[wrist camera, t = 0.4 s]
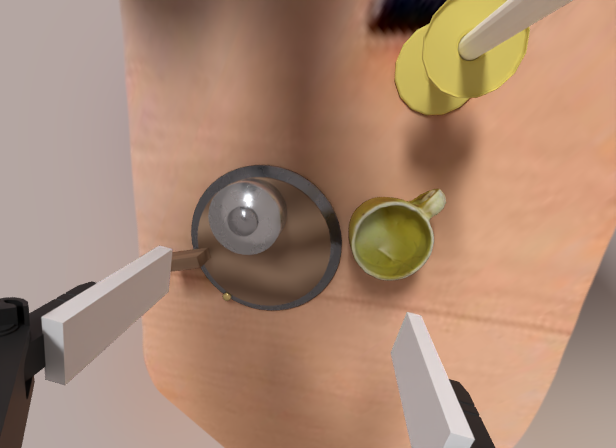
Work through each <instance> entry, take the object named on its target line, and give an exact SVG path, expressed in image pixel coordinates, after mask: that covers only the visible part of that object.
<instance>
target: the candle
mask: <svg viewBox="0 0 616 448" xmlns="http://www.w3.org/2000/svg"><path fill="white" fill-rule="evenodd" d="M571 1H573V0H447V1H446V2H445V3H444V4H443V5H442V6H441V8H440V9H439V10H438V11H437V12H436V13H435V14H434V15H433V17H432V19H431V22H430V24H428V25H426V26H424V27H422V28H420V29H418V30H417V31H416V32H415V33H414V34H413V35H412V36H411V37H410V38H409V39H408V40H407V42H406V43H405V44H404V45H403V47H402V49H401V52H400V54H399V56H398V59H397V61H396V65H395V84H396V87H397V90H398V93H399V96H400V98H401V99H402V100H403V101H404V102H405V103H406V104H407V105H408V106H409V108H410V109H412V110H414V111H417V112H419V113H422V114H424V115H443V114H446V113H448V112H450V111H453V110H455V109H457V108H459V107H461V106H462V105H463V104H464V103H465V102H466V101H467V100H468V99H469V98H477V97H480V96H482V95H485V94H487V93H489V92H492V91H494V90H496V89H498V88H499V87H500V86H501V85H502V84H504V83H505V82H506V81H507V80H508V79H509V78H510V77H511V76H512V75H513V74H514V73H515V72H516V70H517V68H518V66H519V65H520V63H521V61H522V59H523V57H524V56H525V54H526V50H527V44H528V38H529V32H530V28H529V26H531V25H533V24H534V23H536V22H538V21H539V20H541V19H543V18H544V17H546V16H548V15H549V14H551V13H553V12H554V11H556V10H558V9H559V8H561V7H563V6H564V5H566V4H568V3H569V2H571Z"/></svg>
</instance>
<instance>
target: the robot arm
mask: <svg viewBox="0 0 616 448" xmlns="http://www.w3.org/2000/svg"><path fill="white" fill-rule="evenodd" d="M172 251H173V249H171V248H167V247H163V246H160V245H159V246H158V247H156V248H154V249H153V250H151V251H149V252H148V253H146V254H144V255H143V256H141V257H140V258H138V259H136V260H135V261H133V262H131V263H130V264H128V265H126V266H125V267H123V268H121V269H120V270H118V271H117V272H115V273H113V274H112V275H110V276H108V277H107V278H105V279H103V280H102V281H100V282H98V283H95V282H88V283H85V284H82V285H79V286H77V287H75V288H73V289H71V290H70V291H68V292H66V294H63V295H61V296H59V297H57V299H54V300H52V301H50V302H49V303H47V304H45V305H43V306H42V307H40V308H38V309H37V310H35V311H33V312H31V313H29V307H28V302H27V301H26V300H24V299H21V298H15V297H14V298H13V297H12V298H1V299H0V448H21V447H22V442H23V436H24V431H25V426H26V422H27V417H28V412H29V407H30V402H31V397H32V392H33V387H34V375H35V374H36V373H38V372H39V371H40V370H41V369H43V368H44V367H45V380H49V381H52V382H55V383H59V384H62V385H66V384H67V383H68V382H69V381H70V380H72V379H73V378H74V377H75V376H76V375H77V374H78V373H79V372H80V371H82V370H83V369H84V368H85V367H86V366H87V365H88V364H89V363H90V362H92V361H93V360H94V359H95V358H96V357H97V356H98V355H99V354H100V353H101V352H102V351H104V350H105V349H106V348H107V347H108V346H109V345H110V344H111V343H113V342H114V341H115V340H116V339H117V338H118V337H119V336H120V335H121V334H122V333H123V332H125V331H126V330H127V329H128V328H129V327H130V326H131V325H132V324H133V323H135V322H136V321H137V320H138V319H139V318H140V317H141V316H142V315H143V314H145V313H146V312H147V311H148V310H149V309H150V308H151V307H152V306H153V305H155V304H156V303H157V302H158V301H159V300H160V299H161V298H162V297H163V296H164V295H166V294H167V293H168V292H169V282H170V272H171V261H172ZM391 357H392V361H393V366H394V370H395V375H396V379H397V384H398V388H399V393H400V397H401V402H402V406H403V411H404V416H405V420H406V425H407V429H408V434H409V438H410V443H411V447H412V448H495V446H494V444H493V442H492V440H491V438H490V436H489V434H488V432H487V430H486V428H485V426H484V424H483V421H482V419H481V417H479V413H478V411H477V409H476V407H474V403H473V401H472V399H471V397H470V395H469V393H468V392H467V391H466V389H465V388H464V387H463V386H462V385H461V384H460V382H458V381H454V380H450V379H448V376H447V374H446V372H445V370H444V367H443V365H442V363H441V360H440V358H439V356H438V353H437V351H436V349H435V346H434V344H433V342H432V340H431V337H430V335H429V333H428V330H427V328H426V326H425V323H424V321H423V319H422V317H421V315H417V314H413V313H409V312H407V313H406V316H405V318H404V321H403V323H402V326H401V328H400V331H399V333H398V336H397V338H396V341H395V343H394V345H393V348H392V350H391Z"/></svg>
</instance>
